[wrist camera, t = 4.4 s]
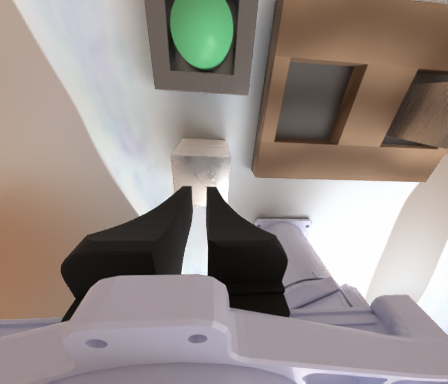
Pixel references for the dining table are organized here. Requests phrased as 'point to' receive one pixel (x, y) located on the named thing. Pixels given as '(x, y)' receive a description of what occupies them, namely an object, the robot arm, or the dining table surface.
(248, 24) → the button box
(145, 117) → the dining table surface
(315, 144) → the wooden socket board
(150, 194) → the dining table surface
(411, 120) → the block
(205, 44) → the button
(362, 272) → the dining table surface
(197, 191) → the block
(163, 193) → the dining table surface
